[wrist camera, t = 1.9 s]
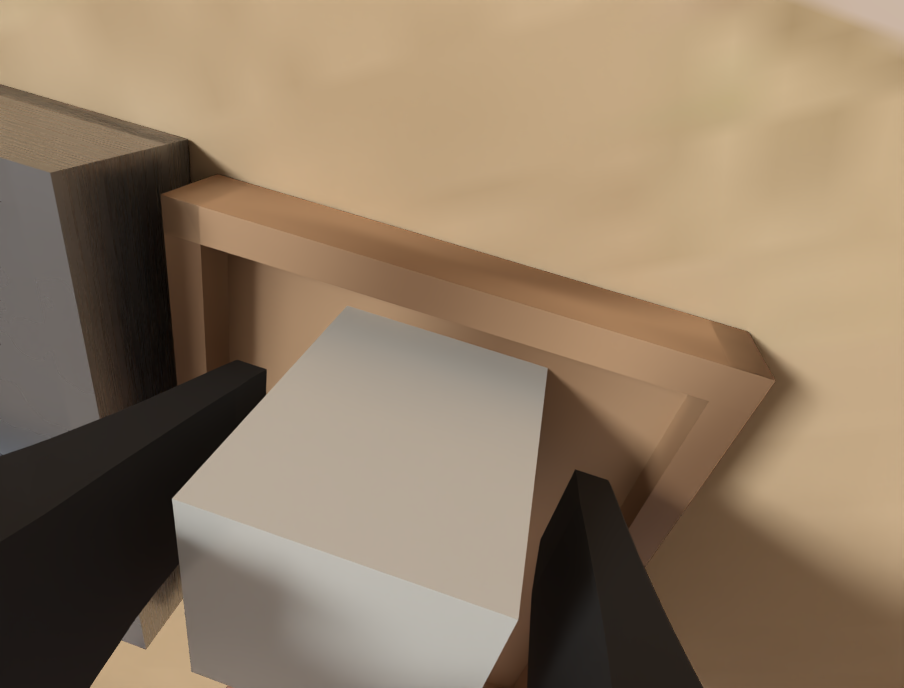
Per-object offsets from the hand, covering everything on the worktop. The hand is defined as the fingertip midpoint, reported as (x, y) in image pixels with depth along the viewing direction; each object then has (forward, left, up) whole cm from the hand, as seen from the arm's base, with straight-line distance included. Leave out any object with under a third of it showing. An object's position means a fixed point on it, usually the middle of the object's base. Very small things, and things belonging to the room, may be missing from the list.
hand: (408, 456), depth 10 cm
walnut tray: (0, +3, -2) cm, 4 cm away
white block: (0, 0, -1) cm, 1 cm away
